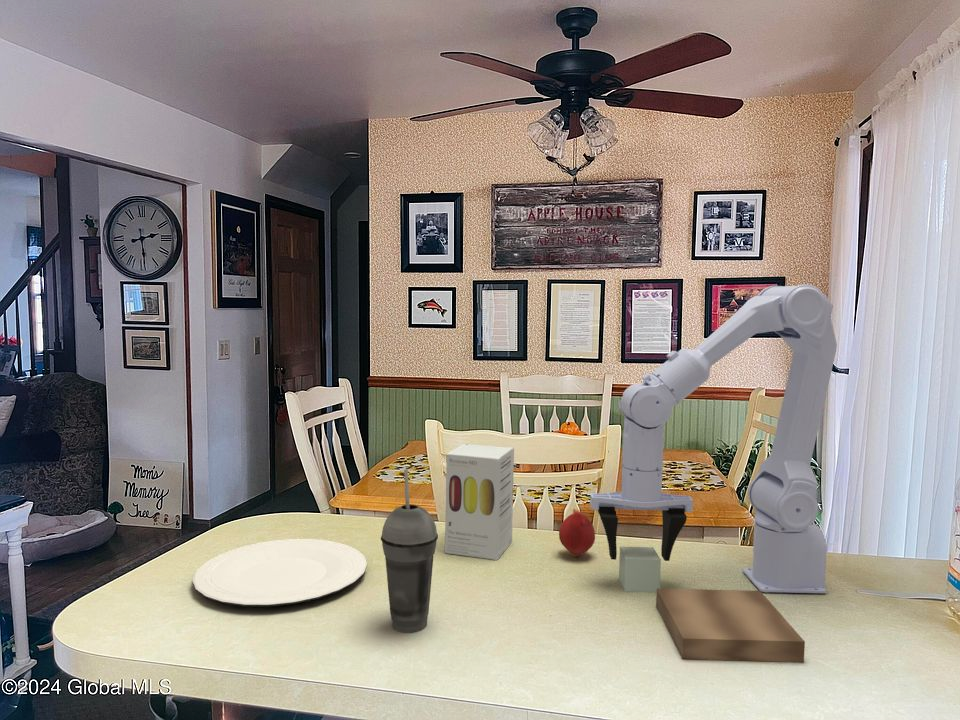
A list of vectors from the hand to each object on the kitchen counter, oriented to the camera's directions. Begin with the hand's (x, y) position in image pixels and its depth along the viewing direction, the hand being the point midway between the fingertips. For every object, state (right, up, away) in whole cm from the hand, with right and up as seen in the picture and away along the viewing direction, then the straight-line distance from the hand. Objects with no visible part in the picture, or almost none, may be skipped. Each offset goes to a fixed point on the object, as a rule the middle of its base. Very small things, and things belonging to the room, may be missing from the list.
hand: (639, 557), depth 101 cm
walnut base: (+8, -5, -14) cm, 17 cm away
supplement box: (-23, -3, +15) cm, 28 cm away
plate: (-53, -4, +2) cm, 53 cm away
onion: (-8, -3, +12) cm, 14 cm away
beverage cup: (-32, -5, -12) cm, 35 cm away
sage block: (0, -4, 0) cm, 4 cm away
